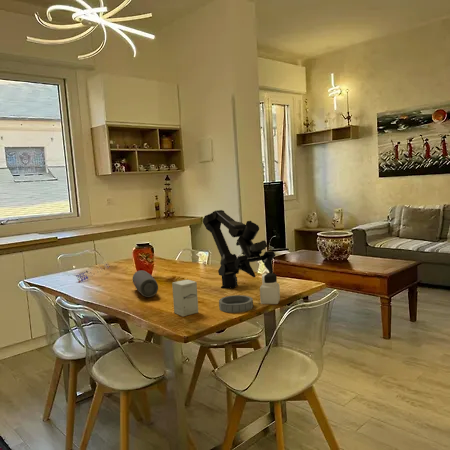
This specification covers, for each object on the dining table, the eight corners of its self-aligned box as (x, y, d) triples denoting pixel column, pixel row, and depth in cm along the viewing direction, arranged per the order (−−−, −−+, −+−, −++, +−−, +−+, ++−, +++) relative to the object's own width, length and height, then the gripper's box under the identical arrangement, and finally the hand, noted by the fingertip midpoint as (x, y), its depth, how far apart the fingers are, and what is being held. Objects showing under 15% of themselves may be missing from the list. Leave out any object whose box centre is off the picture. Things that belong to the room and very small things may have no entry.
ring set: (86, 287, 234) (77, 268, 233) (76, 291, 241) (66, 272, 240) (121, 269, 253) (112, 251, 252) (110, 272, 260) (101, 255, 259)
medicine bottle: (280, 299, 183) (278, 271, 182) (277, 304, 176) (276, 275, 175) (263, 299, 185) (262, 271, 184) (260, 304, 178) (259, 275, 177)
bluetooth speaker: (132, 290, 214) (130, 270, 213) (150, 287, 217) (149, 267, 216) (139, 301, 193) (137, 279, 192) (160, 298, 196) (158, 276, 195)
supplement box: (183, 317, 167) (180, 285, 166) (173, 312, 173) (171, 282, 172) (199, 312, 171) (197, 281, 170) (189, 308, 177) (187, 278, 176)
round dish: (213, 311, 172) (213, 303, 171) (227, 301, 184) (227, 294, 184) (245, 314, 166) (245, 305, 166) (257, 303, 178) (257, 296, 178)
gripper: (236, 237, 181) (252, 267, 172) (271, 232, 190) (288, 260, 182) (227, 254, 188) (242, 283, 180) (262, 248, 198) (278, 275, 189)
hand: (263, 275), depth 183 cm, fingers open, 9 cm apart
